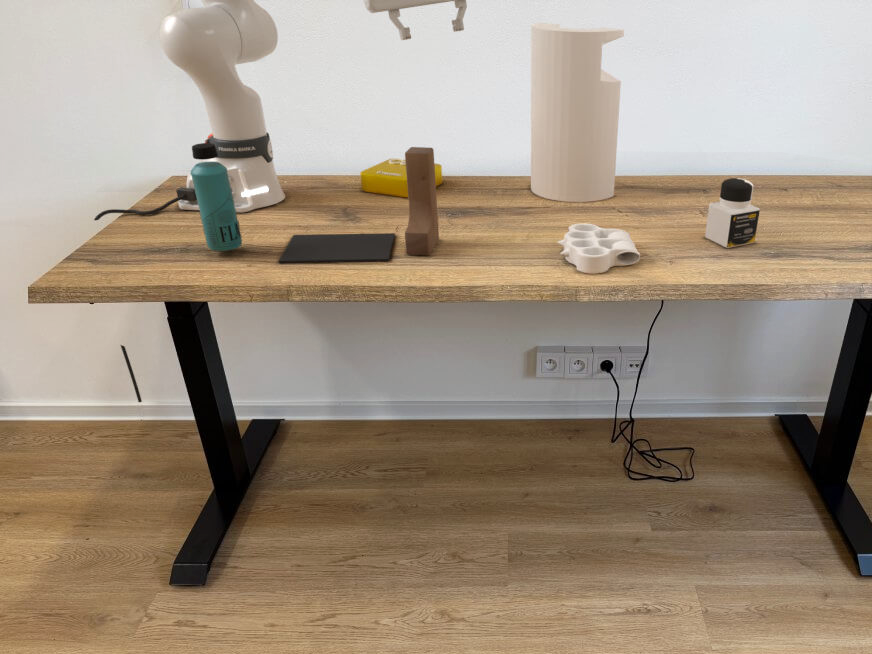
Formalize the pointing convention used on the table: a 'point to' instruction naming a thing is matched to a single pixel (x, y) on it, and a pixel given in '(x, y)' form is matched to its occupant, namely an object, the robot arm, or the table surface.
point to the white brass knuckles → (598, 248)
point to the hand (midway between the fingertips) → (432, 35)
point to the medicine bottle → (733, 215)
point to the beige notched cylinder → (572, 114)
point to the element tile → (391, 178)
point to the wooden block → (421, 201)
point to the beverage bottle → (215, 200)
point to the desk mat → (338, 248)
